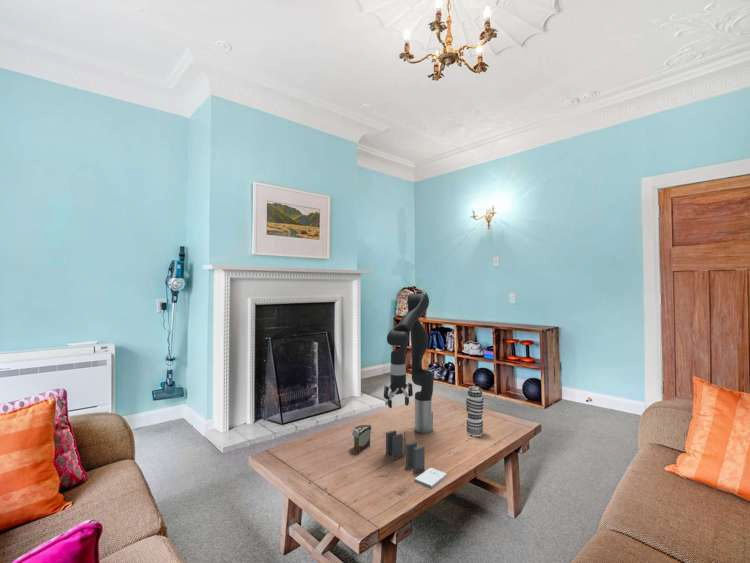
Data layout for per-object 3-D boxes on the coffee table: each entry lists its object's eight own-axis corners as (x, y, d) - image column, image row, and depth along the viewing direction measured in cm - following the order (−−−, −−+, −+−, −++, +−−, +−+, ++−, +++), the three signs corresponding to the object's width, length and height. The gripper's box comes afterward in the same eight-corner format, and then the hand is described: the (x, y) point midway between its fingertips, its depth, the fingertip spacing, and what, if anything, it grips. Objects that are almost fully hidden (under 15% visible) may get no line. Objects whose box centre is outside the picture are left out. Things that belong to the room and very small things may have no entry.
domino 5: (422, 468, 161) (422, 445, 161) (424, 470, 160) (424, 446, 160) (413, 471, 158) (413, 448, 158) (415, 473, 157) (415, 449, 157)
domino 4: (414, 463, 165) (414, 441, 165) (416, 465, 164) (417, 442, 164) (405, 466, 162) (405, 444, 162) (408, 468, 161) (408, 445, 161)
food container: (361, 442, 187) (361, 422, 187) (371, 445, 184) (371, 425, 184) (347, 451, 176) (347, 430, 177) (357, 454, 173) (357, 433, 173)
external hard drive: (414, 482, 150) (430, 470, 160) (431, 489, 145) (447, 477, 155) (414, 478, 150) (430, 466, 160) (431, 485, 145) (447, 473, 155)
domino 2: (400, 455, 173) (400, 433, 173) (402, 456, 172) (402, 434, 172) (392, 457, 171) (392, 436, 171) (394, 459, 169) (394, 437, 169)
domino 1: (394, 451, 177) (394, 430, 178) (396, 452, 176) (396, 431, 176) (385, 453, 175) (386, 432, 175) (387, 455, 173) (388, 433, 173)
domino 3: (411, 449, 179) (412, 429, 179) (414, 450, 178) (414, 430, 178) (403, 452, 176) (403, 431, 176) (405, 453, 175) (406, 432, 175)
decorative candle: (485, 437, 194) (485, 389, 194) (468, 437, 194) (468, 389, 194) (481, 430, 203) (481, 384, 203) (464, 430, 203) (464, 384, 203)
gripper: (408, 369, 184) (408, 402, 184) (381, 372, 178) (381, 405, 179) (415, 373, 176) (415, 407, 177) (387, 376, 171) (387, 410, 172)
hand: (398, 406), depth 178 cm, fingers open, 8 cm apart
